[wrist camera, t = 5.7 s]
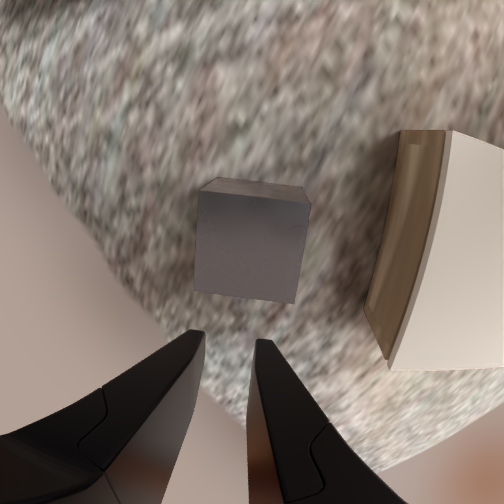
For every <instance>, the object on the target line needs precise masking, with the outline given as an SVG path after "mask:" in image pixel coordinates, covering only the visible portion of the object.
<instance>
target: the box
mask: <svg viewBox="0 0 504 504" xmlns="http://www.w3.org/2000/svg"><path fill="white" fill-rule="evenodd" d="M445 138H446V131H445V130H401V132H400V139H399V147H398V154H397V160H396V167H395V173H394V179H393V184H392V190H391V195H390V201H389V206H388V211H387V216H386V221H385V225H384V230H383V235H382V239H381V243H380V248H379V252H378V256H377V260H376V264H375V268H374V272H373V276H372V280H371V284H370V287H369V291H368V295H367V298H366V302H365V305H364V309H363V310H364V312H365V315H366V317H367V319H368V321H369V323H370V326H371V328H372V330H373V332H374V335H375V337H376V339H377V342H378V344H379V346H380V349H381V351H382V353H383V356H384V358H385V360H389V357H390V355H391V352H392V350H393V347H394V344H395V342H396V339H397V336H398V334H399V331H400V328H401V325H402V322H403V319H404V317H405V314H406V311H407V308H408V305H409V301H410V298H411V295H412V292H413V289H414V285H415V282H416V279H417V275H418V272H419V268H420V265H421V261H422V257H423V253H424V250H425V246H426V242H427V237H428V233H429V229H430V225H431V220H432V216H433V211H434V206H435V201H436V196H437V191H438V185H439V179H440V173H441V167H442V161H443V154H444V146H445Z"/></svg>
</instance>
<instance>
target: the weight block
mask: <svg viewBox="0 0 504 504" xmlns="http://www.w3.org/2000/svg"><path fill="white" fill-rule="evenodd" d="M310 209H311V202H310V200H309V199H308V197H307V195H306V193H305V191H304V189H303V188H302V187H296V186H289V185H281V184H274V183H266V182H257V181H249V180H240V179H231V178H221V177H217V178H216V179H215V180H213V181H212V182H210V183H209V184H207V185H206V186H205V187H203V188H202V189H200V190H199V199H198V214H197V230H196V248H195V268H194V291H199V292H206V293H213V294H220V295H227V296H235V297H242V298H250V299H258V300H266V301H274V302H282V303H291V304H294V302H295V296H296V291H297V286H298V280H299V275H300V269H301V263H302V258H303V252H304V246H305V240H306V234H307V228H308V222H309V215H310Z"/></svg>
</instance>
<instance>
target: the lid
mask: <svg viewBox="0 0 504 504" xmlns="http://www.w3.org/2000/svg"><path fill="white" fill-rule="evenodd" d="M387 365H388V367H389V370H390V371H438V370H466V369H483V368H496V367H504V149H501V148H499V147H497V146H494V145H492V144H489V143H487V142H484V141H481V140H479V139H476V138H473V137H471V136H468V135H465V134H462V133H459V132H456V131H454V130H446V138H445V146H444V154H443V161H442V167H441V173H440V179H439V185H438V191H437V196H436V201H435V206H434V211H433V216H432V220H431V225H430V229H429V233H428V237H427V242H426V246H425V250H424V253H423V257H422V261H421V265H420V268H419V272H418V275H417V279H416V282H415V285H414V289H413V292H412V295H411V298H410V301H409V305H408V308H407V311H406V314H405V317H404V319H403V322H402V325H401V328H400V331H399V334H398V336H397V339H396V342H395V344H394V347H393V350H392V352H391V355H390V357H389V360H388V362H387Z"/></svg>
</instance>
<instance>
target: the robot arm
mask: <svg viewBox="0 0 504 504" xmlns="http://www.w3.org/2000/svg"><path fill="white" fill-rule="evenodd" d="M204 360H205V332H204V331H199V330H192V329H190V330H188V331H186V332H185V333H183V334H182V335H180V336H179V337H177V338H176V339H174V340H173V341H171V342H170V343H168V344H167V345H165V346H164V347H162V348H160V349H159V350H157V351H156V352H154V353H153V354H151V355H150V356H148V357H147V358H145V359H144V360H142V361H141V362H139V363H138V364H136V365H134V366H133V367H132V368H130V369H128V370H127V371H125V372H124V373H122V374H120V375H119V376H117V377H116V378H114V379H113V380H111V381H109V382H108V383H106V384H105V385H103V386H102V388H98V389H97V390H95V391H93V392H92V393H90V394H89V395H87V396H85V397H84V398H82V399H80V400H79V401H77V402H75V403H73V404H71V405H69V406H67V407H65V408H63V409H62V410H59V411H57V412H55V413H53V414H51V415H49V416H47V417H45V418H43V419H40V420H38V421H36V422H34V423H31V424H29V425H27V426H25V427H23V428H20V429H18V430H16V431H13V432H10V433H8V434H4V435H0V504H161V502H162V499H163V497H164V494H165V491H166V488H167V485H168V482H169V480H170V477H171V474H172V471H173V469H174V466H175V463H176V460H177V457H178V455H179V452H180V449H181V446H182V443H183V441H184V438H185V435H186V432H187V429H188V427H189V424H190V421H191V418H192V415H193V412H194V408H195V404H196V399H197V394H198V390H199V385H200V380H201V375H202V371H203V366H204ZM329 422H330V421H329V419H328V418H327V416H326V415H325V414H324V412H323V411H322V410H321V408H320V407H319V405H318V404H317V403H316V401H315V400H314V399H313V397H312V396H311V394H310V393H309V392H308V390H307V389H306V387H305V386H304V385H303V383H302V382H301V380H300V379H299V378H298V376H297V375H296V373H295V372H294V371H293V369H292V368H291V366H290V365H289V364H288V362H287V361H286V359H285V358H284V356H283V355H282V354H281V352H280V351H279V349H278V348H277V346H276V345H275V344H274V342H273V341H272V340H268V339H256V342H255V348H254V355H253V362H252V370H251V379H250V388H249V397H248V406H247V416H246V432H247V462H248V489H249V504H408V503H407V502H405V501H404V500H403V499H402V498H400V497H399V496H398V495H397V494H396V493H395V492H394V491H393V490H392V489H391V488H390V487H389V486H388V485H387V484H385V482H384V481H383V480H382V479H381V478H379V477H378V475H376V474H375V473H374V472H373V471H372V470H371V469H370V468H369V467H368V466H367V465H366V464H365V463H364V461H363V460H362V459H361V458H360V457H359V456H358V455H357V454H356V453H355V452H354V451H353V450H352V449H351V447H350V446H349V445H348V444H347V443H346V441H345V440H344V439H343V438H342V436H341V435H340V434H339V432H338V431H337V430H336V428H335V427H334V426H333V424H332V423H329Z"/></svg>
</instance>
